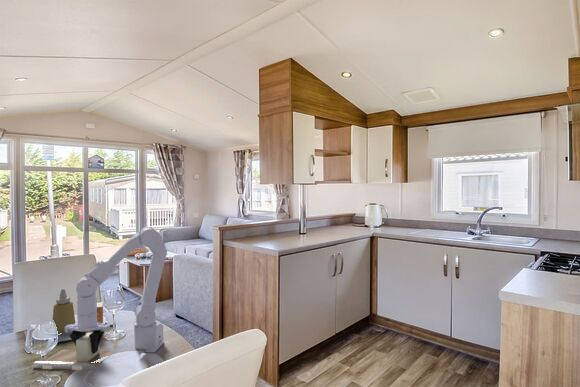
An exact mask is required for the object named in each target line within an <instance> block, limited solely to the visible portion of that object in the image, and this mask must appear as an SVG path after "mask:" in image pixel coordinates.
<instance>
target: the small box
mask: <svg viewBox="0 0 580 387" xmlns="http://www.w3.org/2000/svg"><path fill="white" fill-rule="evenodd" d="M97 322H98V323H103V324H104V301H101V302H97ZM87 333H93V331H86V333H85V334H87ZM102 337H104V334H103V335H102Z"/></svg>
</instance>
